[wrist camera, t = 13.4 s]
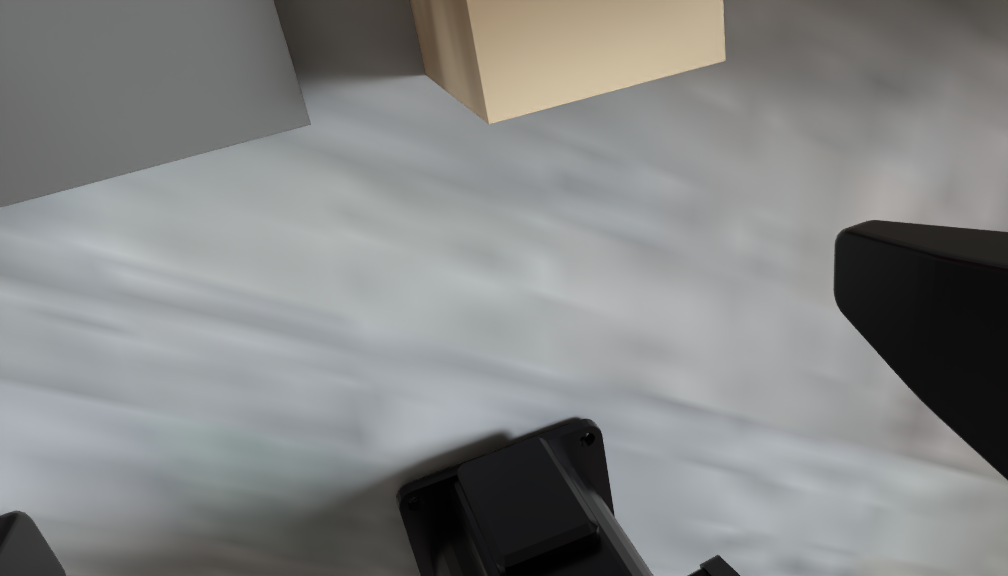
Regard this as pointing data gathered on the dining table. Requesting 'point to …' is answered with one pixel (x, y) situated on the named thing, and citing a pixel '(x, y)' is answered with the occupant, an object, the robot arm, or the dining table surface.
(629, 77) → the beech block
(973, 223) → the dining table surface
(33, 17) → the gray board
